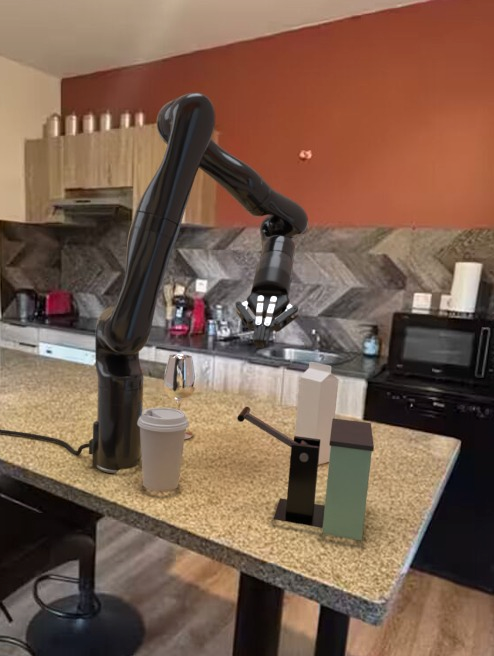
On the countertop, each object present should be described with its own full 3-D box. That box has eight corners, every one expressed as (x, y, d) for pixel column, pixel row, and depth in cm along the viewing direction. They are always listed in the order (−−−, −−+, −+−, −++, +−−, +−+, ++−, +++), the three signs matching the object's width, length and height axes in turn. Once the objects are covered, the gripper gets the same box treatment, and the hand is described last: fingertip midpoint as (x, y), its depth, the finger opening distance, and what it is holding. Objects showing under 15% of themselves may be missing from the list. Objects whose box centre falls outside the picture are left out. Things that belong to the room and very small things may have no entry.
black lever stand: (272, 525, 92) (278, 446, 89) (279, 504, 100) (285, 431, 98) (322, 534, 90) (330, 453, 87) (324, 511, 98) (331, 437, 96)
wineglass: (196, 433, 140) (200, 355, 136) (187, 442, 132) (191, 360, 129) (167, 428, 142) (170, 352, 139) (156, 437, 135) (159, 356, 131)
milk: (313, 466, 120) (322, 367, 116) (292, 458, 125) (300, 362, 121) (331, 461, 124) (340, 364, 120) (309, 453, 128) (318, 360, 124)
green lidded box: (320, 540, 88) (329, 440, 85) (324, 506, 100) (332, 418, 97) (362, 548, 86) (373, 446, 83) (361, 512, 98) (370, 422, 95)
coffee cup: (134, 479, 108) (137, 405, 106) (183, 480, 109) (186, 406, 107) (135, 500, 99) (137, 420, 96) (188, 500, 100) (192, 421, 97)
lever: (234, 422, 93) (241, 410, 92) (240, 413, 98) (247, 402, 98) (307, 468, 90) (315, 456, 89) (310, 456, 96) (317, 445, 95)
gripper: (239, 263, 113) (223, 329, 103) (305, 266, 109) (294, 335, 100) (242, 289, 119) (227, 353, 109) (305, 292, 115) (295, 359, 105)
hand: (259, 344), depth 104 cm, fingers closed
